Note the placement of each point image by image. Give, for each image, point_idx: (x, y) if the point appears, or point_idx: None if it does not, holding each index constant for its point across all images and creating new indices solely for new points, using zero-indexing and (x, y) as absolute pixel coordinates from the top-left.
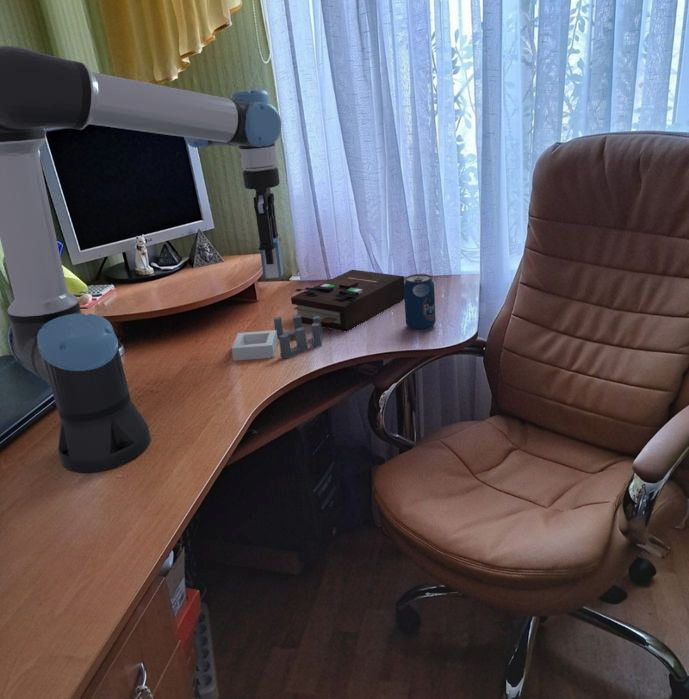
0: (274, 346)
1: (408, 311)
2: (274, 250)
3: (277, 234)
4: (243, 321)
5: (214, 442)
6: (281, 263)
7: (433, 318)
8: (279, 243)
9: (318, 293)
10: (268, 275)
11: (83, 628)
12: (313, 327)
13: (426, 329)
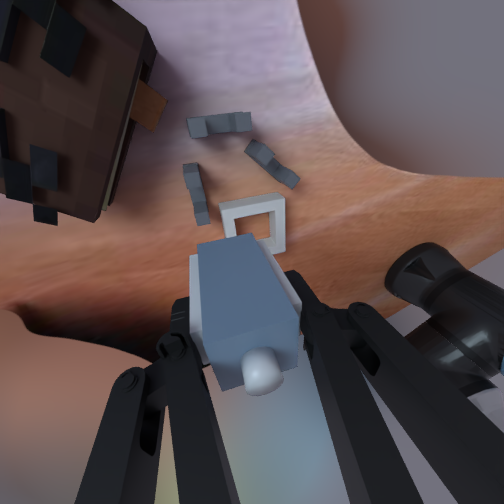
0: (261, 198)
1: None
2: (297, 298)
3: (134, 381)
4: (132, 285)
5: (446, 192)
6: (222, 259)
7: None
8: (221, 317)
9: (29, 151)
10: None
11: None
12: (250, 126)
13: None
